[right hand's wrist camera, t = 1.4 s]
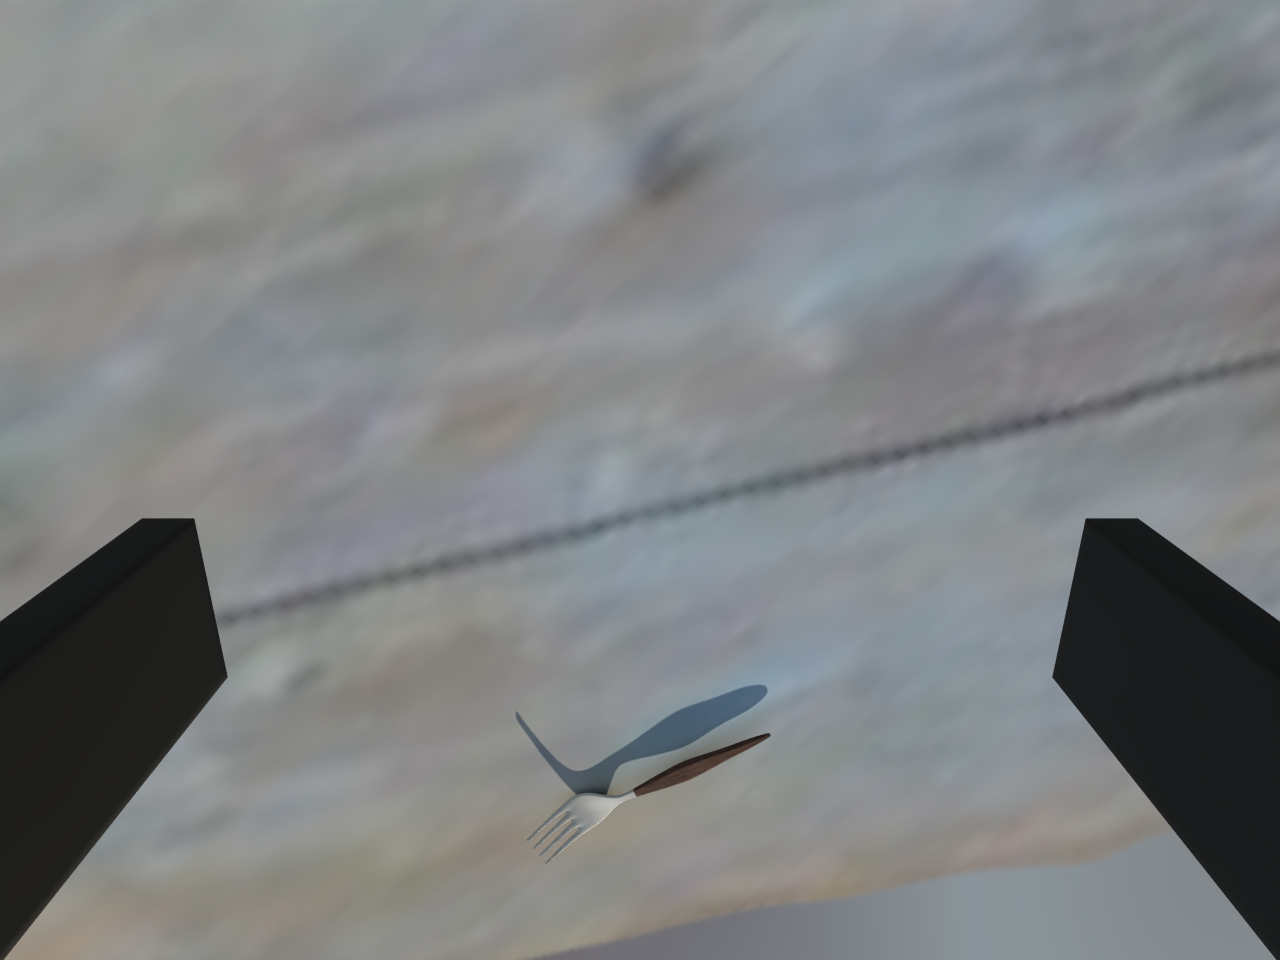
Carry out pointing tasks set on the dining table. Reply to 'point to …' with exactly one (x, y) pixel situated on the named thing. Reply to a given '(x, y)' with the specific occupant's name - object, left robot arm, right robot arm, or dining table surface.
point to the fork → (633, 793)
